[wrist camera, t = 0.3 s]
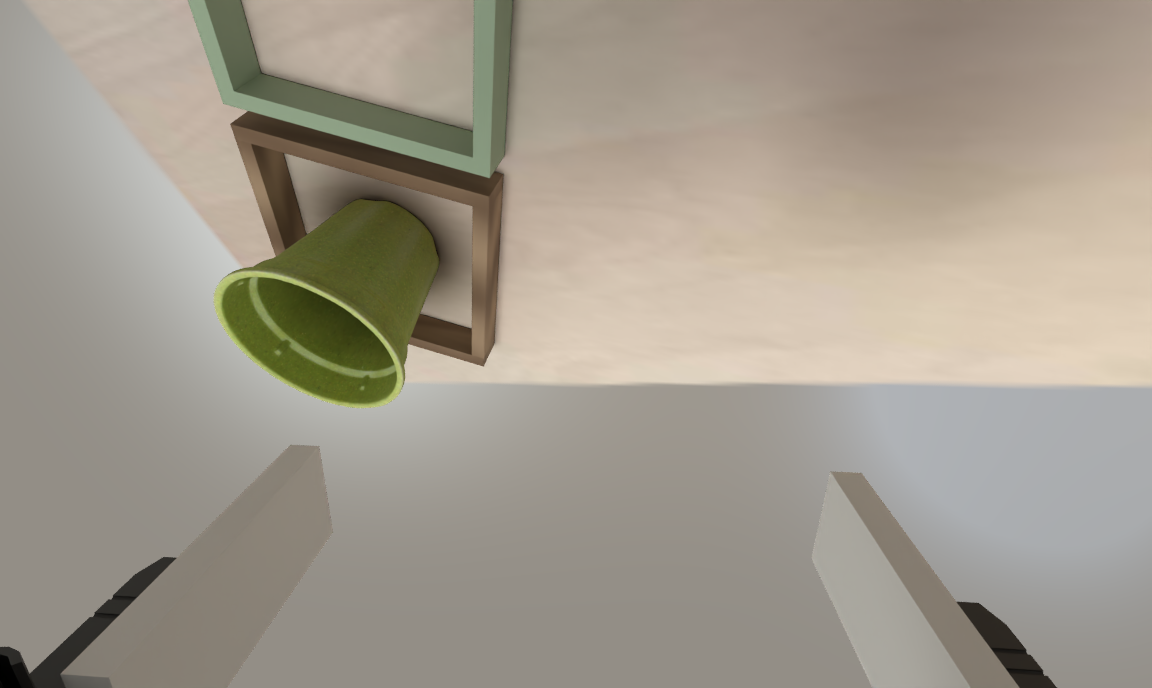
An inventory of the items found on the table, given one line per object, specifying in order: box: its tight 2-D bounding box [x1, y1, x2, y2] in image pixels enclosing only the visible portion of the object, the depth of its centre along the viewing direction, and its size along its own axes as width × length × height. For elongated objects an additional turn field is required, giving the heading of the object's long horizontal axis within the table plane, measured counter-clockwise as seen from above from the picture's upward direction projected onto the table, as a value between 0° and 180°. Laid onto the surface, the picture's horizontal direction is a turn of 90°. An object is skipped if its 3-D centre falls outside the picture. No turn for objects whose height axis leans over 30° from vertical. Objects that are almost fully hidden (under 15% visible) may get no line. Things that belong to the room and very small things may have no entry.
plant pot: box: [214, 199, 439, 408], centre depth 30 cm, size 9×9×9 cm
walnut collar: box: [231, 111, 503, 366], centre depth 32 cm, size 13×13×2 cm
